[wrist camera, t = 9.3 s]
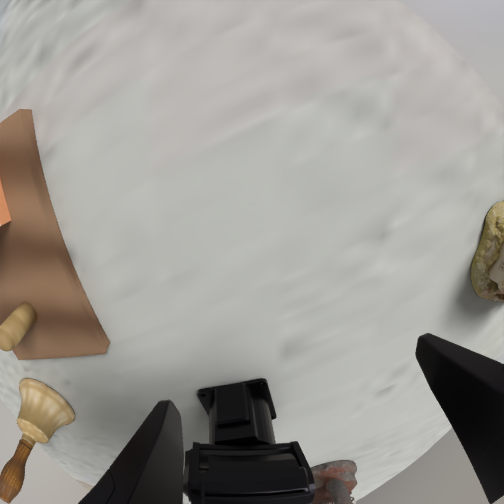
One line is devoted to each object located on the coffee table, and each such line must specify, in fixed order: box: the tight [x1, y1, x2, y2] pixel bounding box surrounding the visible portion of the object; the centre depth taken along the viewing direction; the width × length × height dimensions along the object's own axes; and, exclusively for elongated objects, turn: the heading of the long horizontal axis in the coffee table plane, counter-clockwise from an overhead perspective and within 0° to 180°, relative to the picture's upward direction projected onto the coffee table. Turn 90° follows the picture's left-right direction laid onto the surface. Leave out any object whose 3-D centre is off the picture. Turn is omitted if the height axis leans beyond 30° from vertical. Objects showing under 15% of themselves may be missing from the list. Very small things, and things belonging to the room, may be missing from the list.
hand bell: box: [0, 378, 75, 503], centre depth 17 cm, size 8×8×16 cm
